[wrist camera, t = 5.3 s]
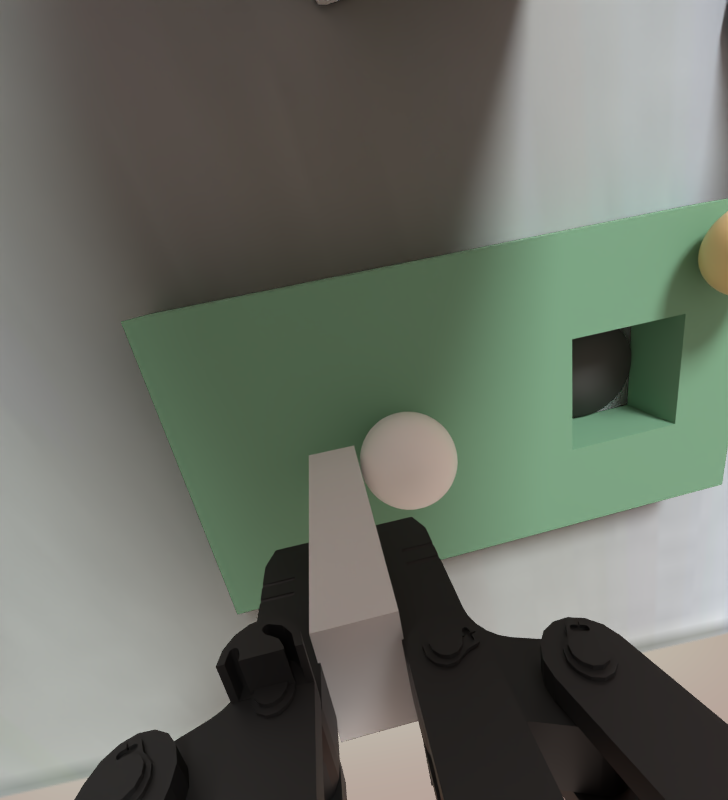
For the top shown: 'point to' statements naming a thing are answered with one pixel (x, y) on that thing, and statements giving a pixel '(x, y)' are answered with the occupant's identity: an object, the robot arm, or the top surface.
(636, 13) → the top surface
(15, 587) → the top surface
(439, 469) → the ball
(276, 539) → the green
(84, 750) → the top surface
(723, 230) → the orange ball
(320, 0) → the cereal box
